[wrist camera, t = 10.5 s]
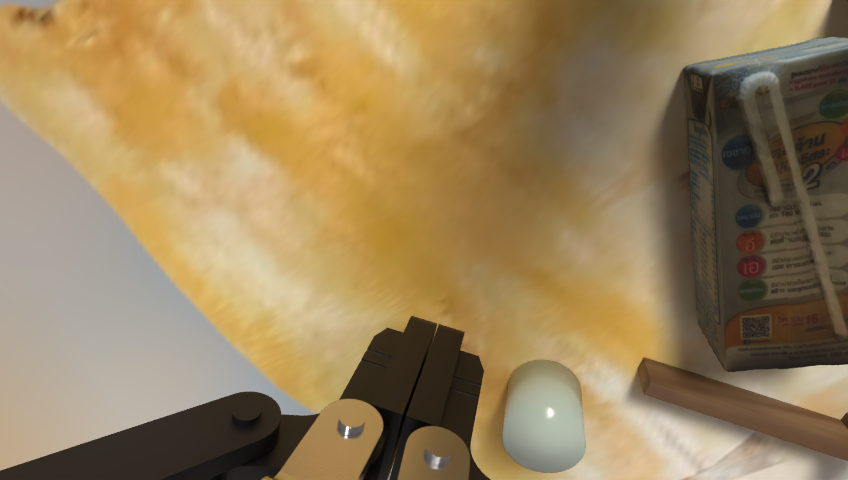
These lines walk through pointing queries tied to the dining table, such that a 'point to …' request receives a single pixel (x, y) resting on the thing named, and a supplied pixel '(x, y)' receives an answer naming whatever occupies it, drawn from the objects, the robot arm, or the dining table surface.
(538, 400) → the grey rounded cylinder
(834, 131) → the beverage carton
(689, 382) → the frame
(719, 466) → the dining table surface
